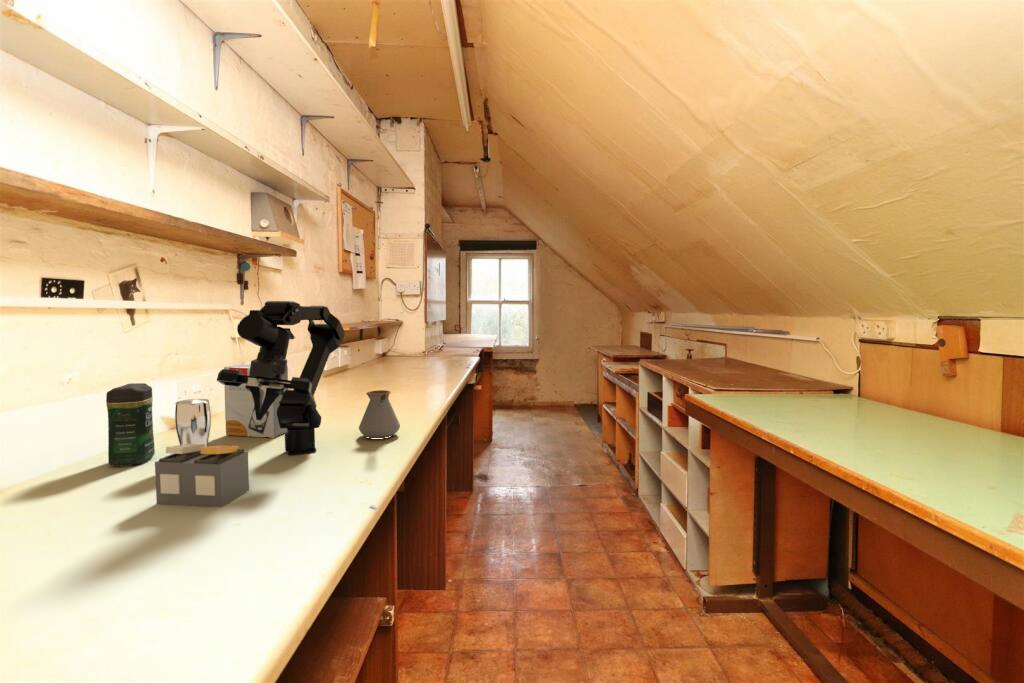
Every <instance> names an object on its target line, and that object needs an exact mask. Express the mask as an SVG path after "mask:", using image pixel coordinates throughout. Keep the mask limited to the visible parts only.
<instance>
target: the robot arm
mask: <svg viewBox="0 0 1024 683" xmlns="http://www.w3.org/2000/svg"><path fill="white" fill-rule="evenodd" d="M302 321H308V325H307V331H308V333H309V336H310V337H309V339H310V342H311V344H312V347H311V350H310V352H309V354H308V357H307V359H306V361H305V364H304V366H303V368H302V371H301V374H300V376H299V377H295V376H292V378H291V380H289V379H288V380H282V374H285V373H286V369H287V367H288V359H287V353H288V348H289V344H290V340H294V339H295V336H294V334H293V332H292V330H291V328H290V327H289V328H288V327H281V326H294V325H298V324H300V323H301V322H302ZM315 321H323V322H324V323H315ZM236 329H237V333H238V335H239V336H240V338H241V339H244V340H246V341H247V342H250V343H251V344H253V345H256V346H258V347H259V350H258V351H259V352H258V353H257V357H256V358H255V359H253V360H251V361H250V364H249V365H250V372H249V376H246V375H244V374H243V373H242V372H240V371H237V370H228V369H224V368H222V369H221V370H220V371H219V372H218V373H217V377H216V382H218V383H220V384H221V385H223V386H225V385H228V386H237V387H239V386H240V385H242V384H243V383H244V384H247V385H245V388H246V389H247V390H248V391H250V392H251V393H252V396H253V400H254V406H255V413H256V420H262V418H263V417H264V415H265V413H266V412H267V410H268V409H269V407H270V406H271V404H272V403H273V402H274V401H275V399H276V398H277V397H278V396H279V395H283V396H282V399H281V401H280V402H279V404H280V405H279V406H278V408H277V417H278V421H279V425H280V428H281V429H283V428H287V433H285V434H284V450H285V451H286V452H287V455H289V456H291V455H300V454H307V453H314V452H317V448H316V444H315V443H316V437H315V436H316V435H315V434H316V433H315V429H318V428H320V426H321V423H322V416H321V414H320V413H319V411H318V410H317V403H316V400H315V397H314V396H315V393H316V391H317V388H318V386H319V383H320V379H321V378H322V376H323V373H324V369H325V368H326V365H327V362H328V360H329V357H330V355H331V354H332V353H334V352H335V351H336V350H337V349H339V348H340V345H341V344H342V342H343V340H344V338H345V330H344V327H343V325H342V323H341V321H340V320H339V318H337V317H336V316H335V315H333V313H331V311H330V309H329V307H328V306H325V305H301V304H300V303H298V302H296V301H294V300H268V301H265V302H264V305H263V306H262V307H261V308H260V310H259V309H251V310H249V313H248V315H246V316H244V317H243V318H242V319H241V320H240V321H239V323H238V324H237V328H236ZM262 381H263V382H262ZM271 382H272V383H271ZM263 386H269V387H270V388H266V394H265V398H264V401H263V395H264V391H263V390H262V389H261V388H262V387H263ZM284 388H288V390H286V391H285V392H283V391H284ZM262 402H263V404H262Z"/></svg>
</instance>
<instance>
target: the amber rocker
mask: <svg viewBox="0 0 1024 683" xmlns="http://www.w3.org/2000/svg"><path fill="white" fill-rule="evenodd" d="M238 449H239V446H238V445H212V446H209V445H208V447H201V453H200V454H224V453H234V452H237V451H238Z"/></svg>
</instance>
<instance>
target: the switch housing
mask: <svg viewBox="0 0 1024 683" xmlns="http://www.w3.org/2000/svg"><path fill="white" fill-rule="evenodd" d="M200 453H201V451H196V452H190V453H184V454H170V455H167V456H164V457H162V458H158V459H159V460H157V461H154V473H155V474H154V475H155V494H156V498H155V499H156V504H157V505H171V506H172V505H175V506H197V507H198V506H199V507H215V506H217V508H223V507H224V506H226V505H227V504H229V503H230V502H232V501H234V500H236V499H238V498H239V497H241V496H242V494H243V495H244V494H246V493H247V491H248V492H249V491H250V480H249V478H250V475H249V474H250V473H249V451H245V449H243V448H242V449H239V448H238V451H237V452H234V453H224V454H200ZM222 506H223V507H222Z"/></svg>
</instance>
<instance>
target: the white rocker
mask: <svg viewBox="0 0 1024 683" xmlns="http://www.w3.org/2000/svg"><path fill="white" fill-rule="evenodd" d="M201 447H205V444H183V445H180V444H177V445H171V446H170V445H169V446H165V454H170V455H172V454H184V453H190V452H196V451H201Z"/></svg>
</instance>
